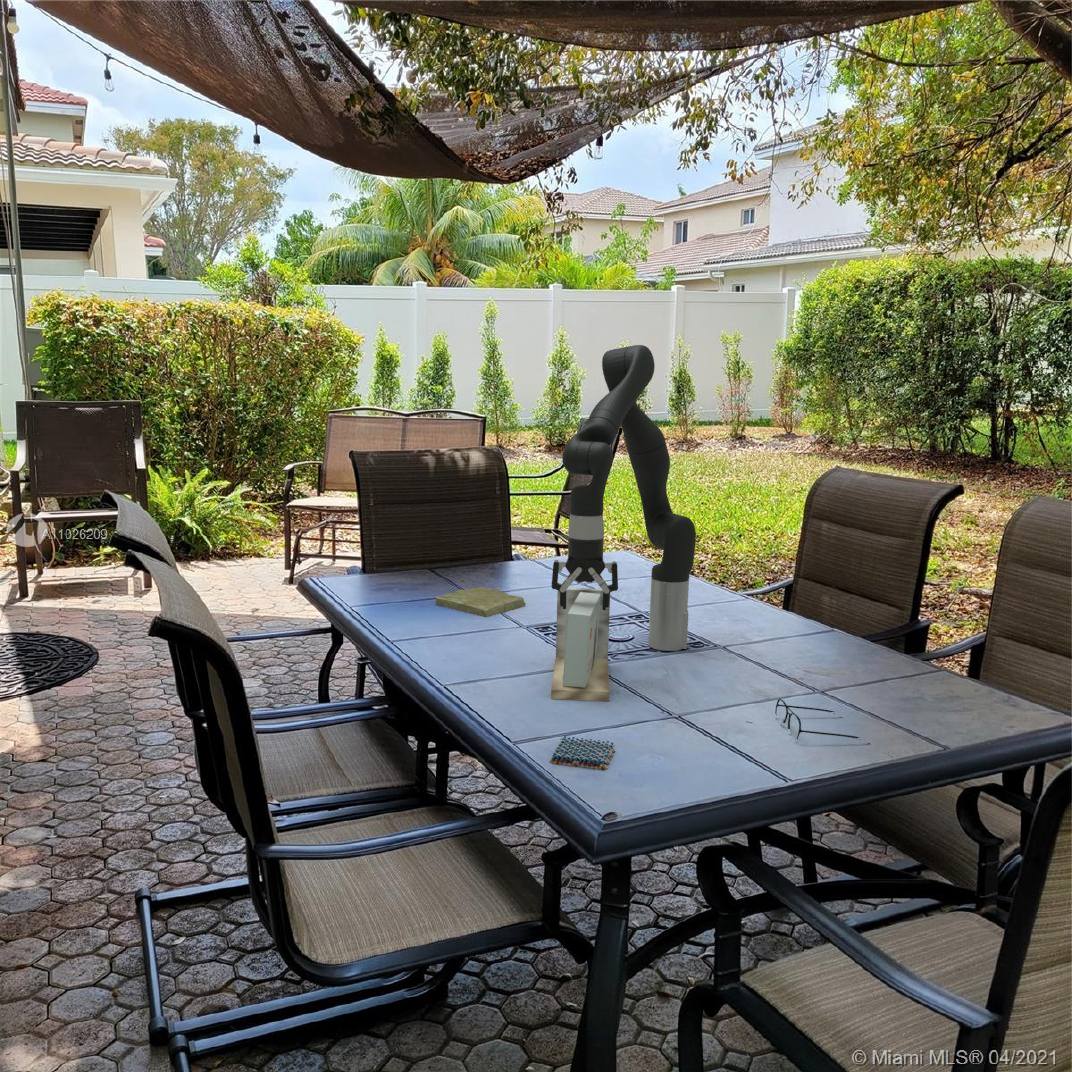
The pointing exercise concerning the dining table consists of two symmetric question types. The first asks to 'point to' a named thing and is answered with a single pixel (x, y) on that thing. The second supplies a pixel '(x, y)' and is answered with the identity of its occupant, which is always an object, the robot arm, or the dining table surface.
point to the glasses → (800, 721)
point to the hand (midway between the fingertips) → (584, 608)
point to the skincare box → (581, 639)
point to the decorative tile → (481, 601)
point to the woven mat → (583, 753)
